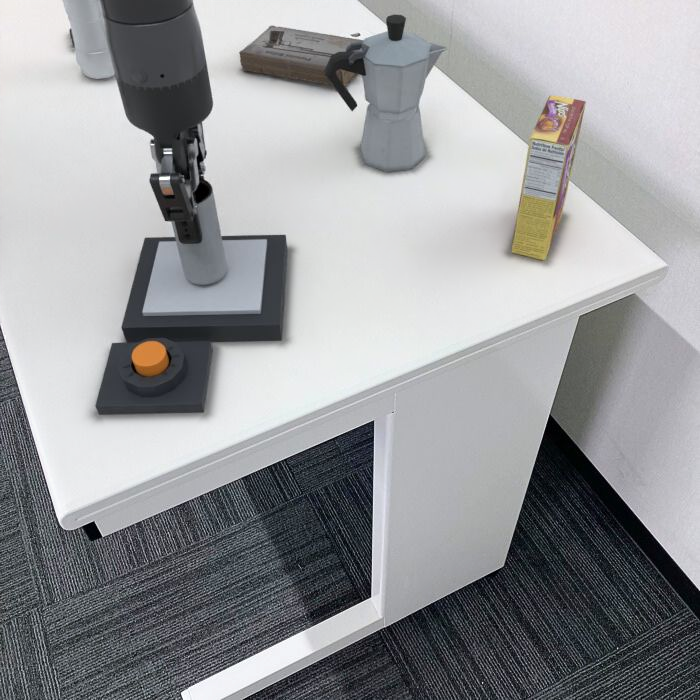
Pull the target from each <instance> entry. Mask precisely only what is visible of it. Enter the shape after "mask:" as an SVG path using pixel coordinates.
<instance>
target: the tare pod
mask: <svg viewBox="0 0 700 700" xmlns="http://www.w3.org/2000/svg"><path fill="white" fill-rule="evenodd" d="M148 341H156V342H159V343H161V344H162V345H163V346H164V347H165V349H166V352H167V355H168V359H169V364H168V367H167V368H166V370H165V371H163V372H162V373H161V374H159V375H156V376H151V377H147V376H143V375H141V374H139V373H138V372H137V371H136V369H135V366H134V363H133V360H132V352H133V350H134V349H135V348H136V347H137V346H138V345H140V344H142V343H144V342H148ZM213 349H214V348H213V345H212V342H211V341H181V342H172V341H170V340H168V339H166V338H149V339H145V340H143V341H140V342H133V343H127V342H112V343H111V346H110V349H109V353H108V356H107V360H106V364H105V368H104V372H103V375H102V379H101V383H100V386H99V391H98V393H97V398H96V400H95V409H96V411H97V414H98V415H143V414H145V415H146V414H147V415H149V414H193V413H195V414H197V413H204V412H205V406H206V400H207V392H208V386H209V379H210V372H211V366H212V365H211V364H212V358H213V352H214V350H213Z"/></svg>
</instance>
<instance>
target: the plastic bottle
mask: <svg viewBox="0 0 700 700" xmlns="http://www.w3.org/2000/svg"><path fill="white" fill-rule="evenodd" d="M61 3H62V4H63V8H64V10H65V13H66V15H67V19H68V22H69V25H70V28H71V30H72V35H73V40H74V44H75V49H74V56H75V61H76V63H77V65H78V67H79V70H80V71H81V72H82V73H83V74H84V75H85V76H86V77H88V78H91V79H98V80H99V79H107V78H110V77H113V76H115V73H114V70H113V66H112V62H111V58H110V55H109V51H108V47H107V43H106V38H105V31H104V23H103V17H102V11H101V8H100V5H99V1H98V0H61Z"/></svg>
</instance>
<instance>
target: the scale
mask: <svg viewBox="0 0 700 700" xmlns="http://www.w3.org/2000/svg"><path fill="white" fill-rule="evenodd" d="M221 236H222V242H223V247H224V252H225V258H226V264H227V271H226V274H225V275H224V276H223V277H222V278H221V279H220V280H219V281H217V282H215V283H212V284H207V285H198V284H194V283H192V282H190V281H189V280H187V278H186V277H185V274H184V271H183V267H182V263H181V259H180V255H179V251H178V247H177V243H176V239H175V236H159V237H158V236H155V237H154V236H153V237H152V236H151V237H150V236H149V237H144V238H143V243H142V247H141V250H140V253H139V259H138V262H137V266H136V269H135V270H136V271H135V273H134V278H133V280H132V285H131V289H130V293H129V296H128V301H127V304H126V309H125V313H124V315H123V320H122V323H121V331H122V333H123V336H124V339H125V341H126V342H125V343H133V342H140V341H143V340H145V339H149V338H166V339H168V340H170V341H172V342H181V341H211V343H229V342H230V343H231V342H232V343H233V342H235V343H236V342H237V343H238V342H280V341H282V340H283V329H284V314H285V313H284V311H285V297H286V281H287V280H286V279H287V268H288V267H287V264H288V243H287V242H288V241H287V235H286V234H249V235H248V234H246V235H245V234H244V235H221Z"/></svg>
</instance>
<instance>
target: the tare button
mask: <svg viewBox="0 0 700 700" xmlns="http://www.w3.org/2000/svg"><path fill="white" fill-rule="evenodd" d="M132 360H133V363H134V366H135V369H136V371H137V372H138V373H139V374H141V375H143V376H147V377H151V376H156V375H159V374H161V373H162V372H163V371H165V370H166V368H167V367H168V364H169V359H168V355H167V352H166V349H165V347H164V346H163V345H162V344H161V343H159V342H156V341H148V342H144V343H142V344H140V345H138V346H137V347H136V348H135V349H134V350H133V352H132Z"/></svg>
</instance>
